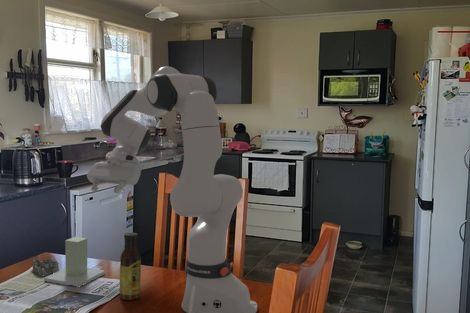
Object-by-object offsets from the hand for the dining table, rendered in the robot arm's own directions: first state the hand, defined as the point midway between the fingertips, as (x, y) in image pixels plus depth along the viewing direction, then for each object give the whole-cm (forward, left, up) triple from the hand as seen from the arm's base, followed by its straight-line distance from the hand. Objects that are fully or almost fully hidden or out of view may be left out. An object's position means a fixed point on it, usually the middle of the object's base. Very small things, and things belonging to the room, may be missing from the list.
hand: (104, 191), depth 165 cm
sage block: (+3, +12, -27) cm, 30 cm away
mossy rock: (+17, +10, -29) cm, 35 cm away
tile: (+3, +12, -28) cm, 31 cm away
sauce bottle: (-23, +19, -28) cm, 41 cm away
